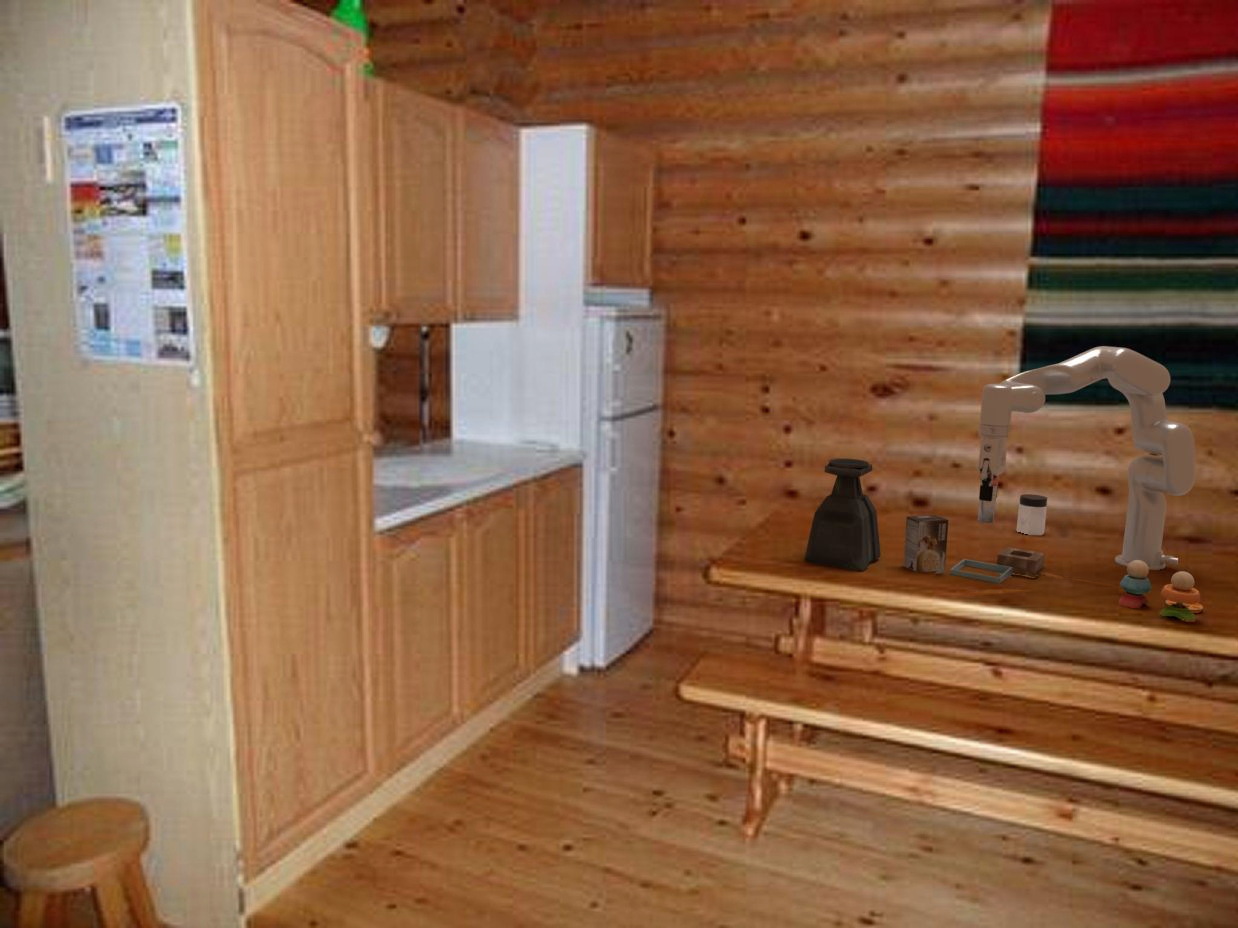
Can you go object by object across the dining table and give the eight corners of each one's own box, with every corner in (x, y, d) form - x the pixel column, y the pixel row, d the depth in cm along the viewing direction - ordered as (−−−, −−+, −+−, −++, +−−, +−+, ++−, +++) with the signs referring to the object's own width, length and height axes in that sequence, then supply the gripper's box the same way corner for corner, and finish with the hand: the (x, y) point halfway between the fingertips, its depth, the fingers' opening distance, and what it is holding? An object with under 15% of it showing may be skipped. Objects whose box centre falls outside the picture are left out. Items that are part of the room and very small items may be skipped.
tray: (1011, 576, 257) (1012, 567, 257) (999, 587, 247) (1000, 578, 246) (963, 567, 265) (963, 558, 264) (949, 578, 254) (949, 569, 254)
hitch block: (1042, 570, 263) (1044, 553, 262) (1034, 578, 255) (1036, 560, 254) (1005, 563, 269) (1006, 546, 268) (996, 571, 261) (997, 554, 260)
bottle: (824, 556, 273) (830, 454, 268) (880, 565, 265) (888, 460, 260) (802, 571, 258) (808, 463, 253) (861, 581, 250) (869, 470, 245)
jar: (1010, 530, 308) (1013, 495, 306) (1027, 528, 312) (1030, 493, 310) (1033, 537, 300) (1037, 500, 298) (1050, 534, 304) (1054, 498, 302)
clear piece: (995, 521, 253) (1000, 477, 251) (990, 523, 250) (995, 479, 248) (980, 518, 256) (985, 475, 253) (975, 520, 253) (980, 477, 250)
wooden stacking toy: (1212, 614, 229) (1219, 564, 227) (1190, 630, 218) (1198, 578, 215) (1132, 596, 242) (1138, 549, 240) (1108, 611, 230) (1113, 561, 228)
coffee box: (931, 570, 261) (935, 514, 258) (945, 577, 255) (949, 519, 252) (901, 572, 258) (906, 515, 256) (915, 579, 252) (919, 521, 250)
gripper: (1000, 436, 240) (994, 506, 243) (1016, 429, 253) (1010, 496, 256) (970, 433, 244) (964, 502, 247) (988, 426, 257) (981, 492, 261)
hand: (987, 498), depth 252 cm, fingers closed on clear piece, 4 cm apart
